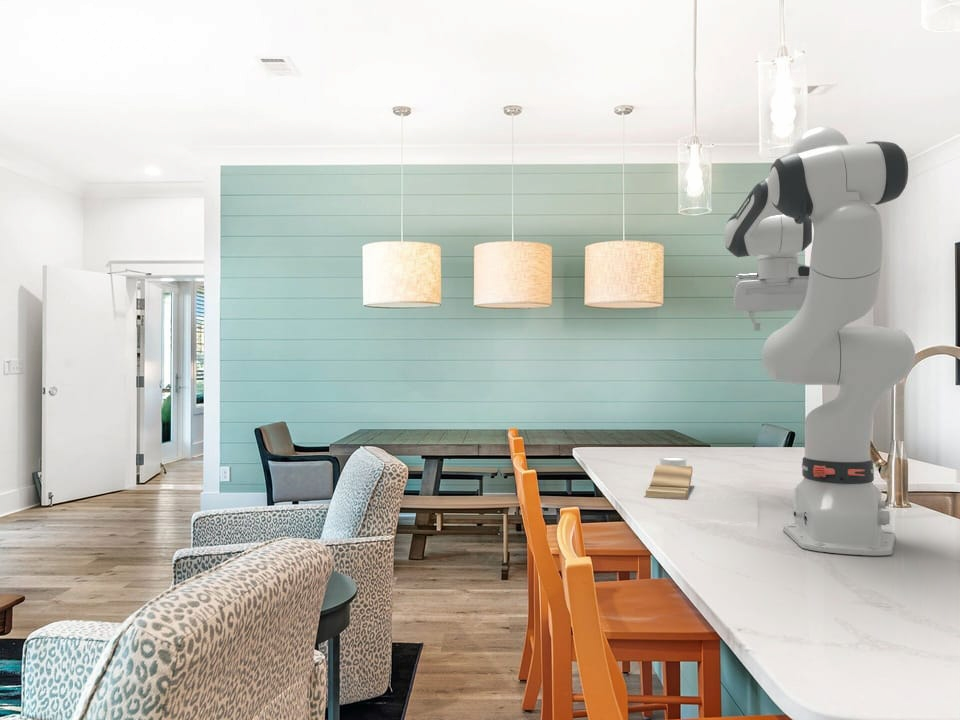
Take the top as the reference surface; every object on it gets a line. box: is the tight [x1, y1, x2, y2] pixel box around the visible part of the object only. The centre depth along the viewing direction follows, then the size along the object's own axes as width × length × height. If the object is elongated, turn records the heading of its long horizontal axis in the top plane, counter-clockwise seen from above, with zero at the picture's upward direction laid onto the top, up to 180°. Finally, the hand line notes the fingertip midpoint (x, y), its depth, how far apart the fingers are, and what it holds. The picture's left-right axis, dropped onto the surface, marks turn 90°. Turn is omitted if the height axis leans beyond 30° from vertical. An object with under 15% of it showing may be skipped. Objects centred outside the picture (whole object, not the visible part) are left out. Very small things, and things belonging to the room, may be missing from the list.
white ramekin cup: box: [659, 456, 687, 466], centre depth 193 cm, size 7×7×7 cm
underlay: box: [643, 485, 696, 501], centre depth 178 cm, size 20×10×1 cm, turn 159°
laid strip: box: [645, 484, 688, 501], centre depth 172 cm, size 7×9×2 cm
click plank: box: [649, 464, 693, 494], centre depth 181 cm, size 12×9×2 cm
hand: (778, 330), depth 173 cm, fingers open, 8 cm apart
